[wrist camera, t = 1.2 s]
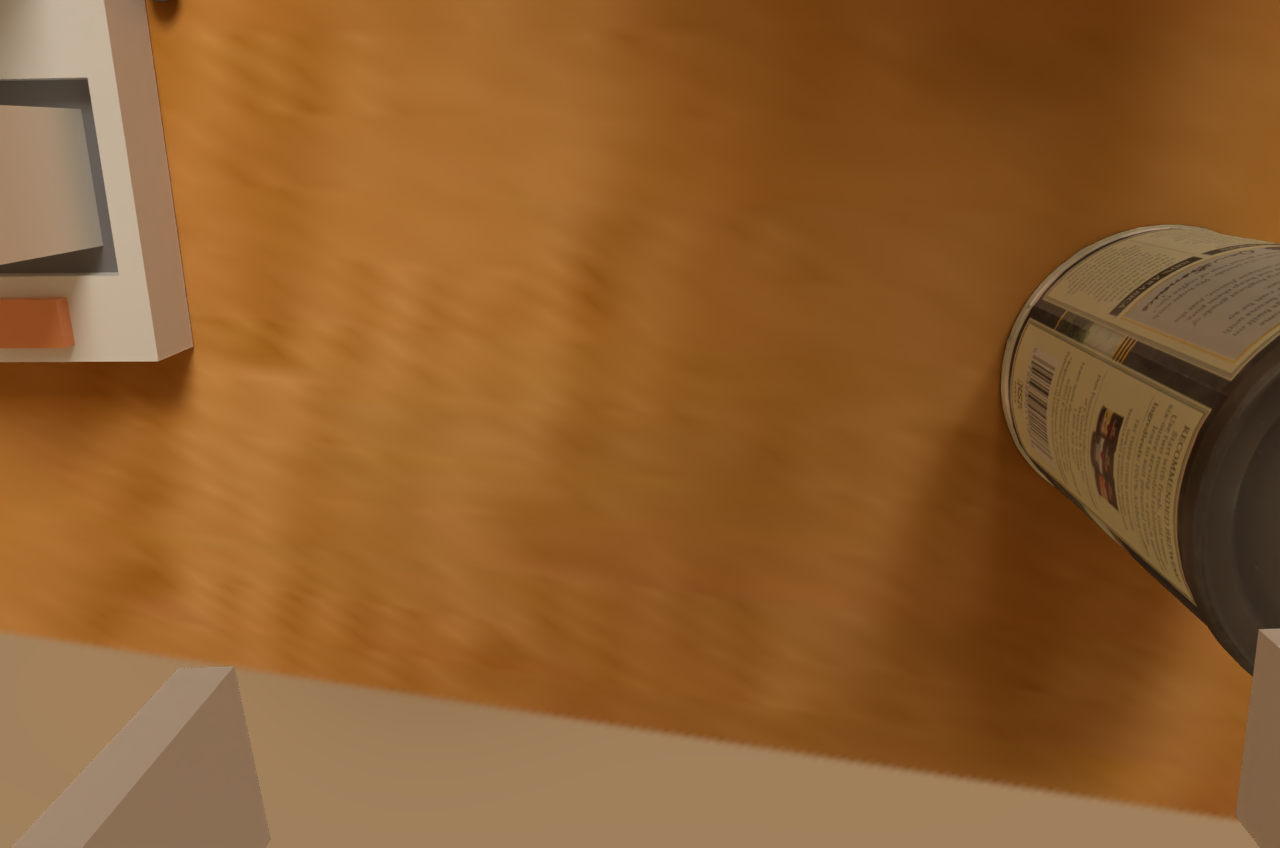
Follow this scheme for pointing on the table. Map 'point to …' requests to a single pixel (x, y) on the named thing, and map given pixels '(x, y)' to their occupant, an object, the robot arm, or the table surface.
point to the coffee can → (1164, 411)
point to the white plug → (45, 184)
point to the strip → (96, 190)
